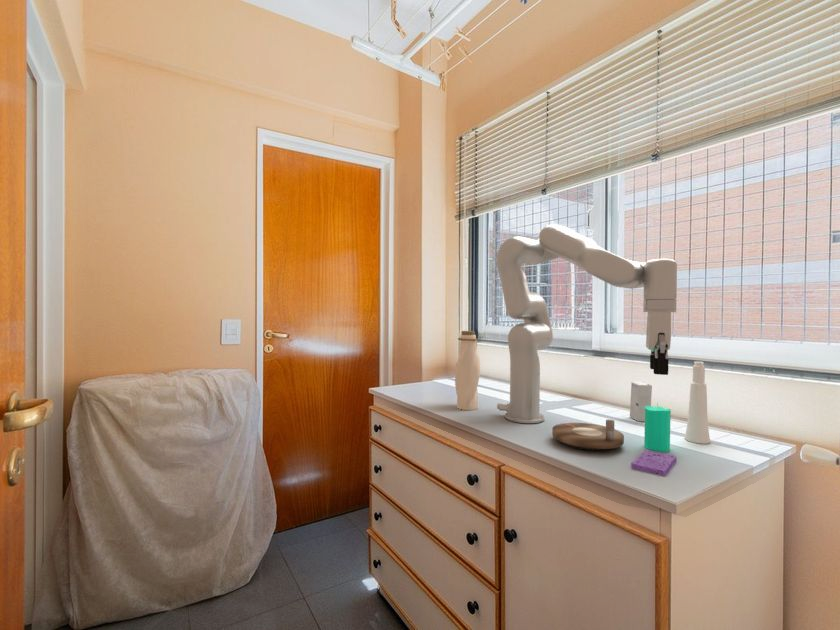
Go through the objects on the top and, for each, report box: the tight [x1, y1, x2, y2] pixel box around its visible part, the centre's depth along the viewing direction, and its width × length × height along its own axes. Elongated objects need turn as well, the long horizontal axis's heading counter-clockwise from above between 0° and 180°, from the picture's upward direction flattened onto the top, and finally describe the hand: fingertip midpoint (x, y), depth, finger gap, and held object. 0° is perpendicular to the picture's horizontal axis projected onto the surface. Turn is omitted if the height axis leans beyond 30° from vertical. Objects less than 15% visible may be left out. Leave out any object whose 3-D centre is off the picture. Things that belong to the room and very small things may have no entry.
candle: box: [643, 402, 672, 453], centre depth 111 cm, size 6×6×12 cm
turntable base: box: [566, 444, 608, 452], centre depth 114 cm, size 12×12×1 cm
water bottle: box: [454, 330, 481, 411], centre depth 154 cm, size 10×9×28 cm
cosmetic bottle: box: [684, 361, 711, 445], centre depth 117 cm, size 6×6×22 cm
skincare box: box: [629, 381, 653, 422], centre depth 139 cm, size 6×4×12 cm
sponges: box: [630, 449, 677, 477], centre depth 99 cm, size 7×13×2 cm, turn 139°
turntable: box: [551, 418, 625, 450], centre depth 114 cm, size 18×18×7 cm
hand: (658, 371), depth 110 cm, fingers open, 9 cm apart
